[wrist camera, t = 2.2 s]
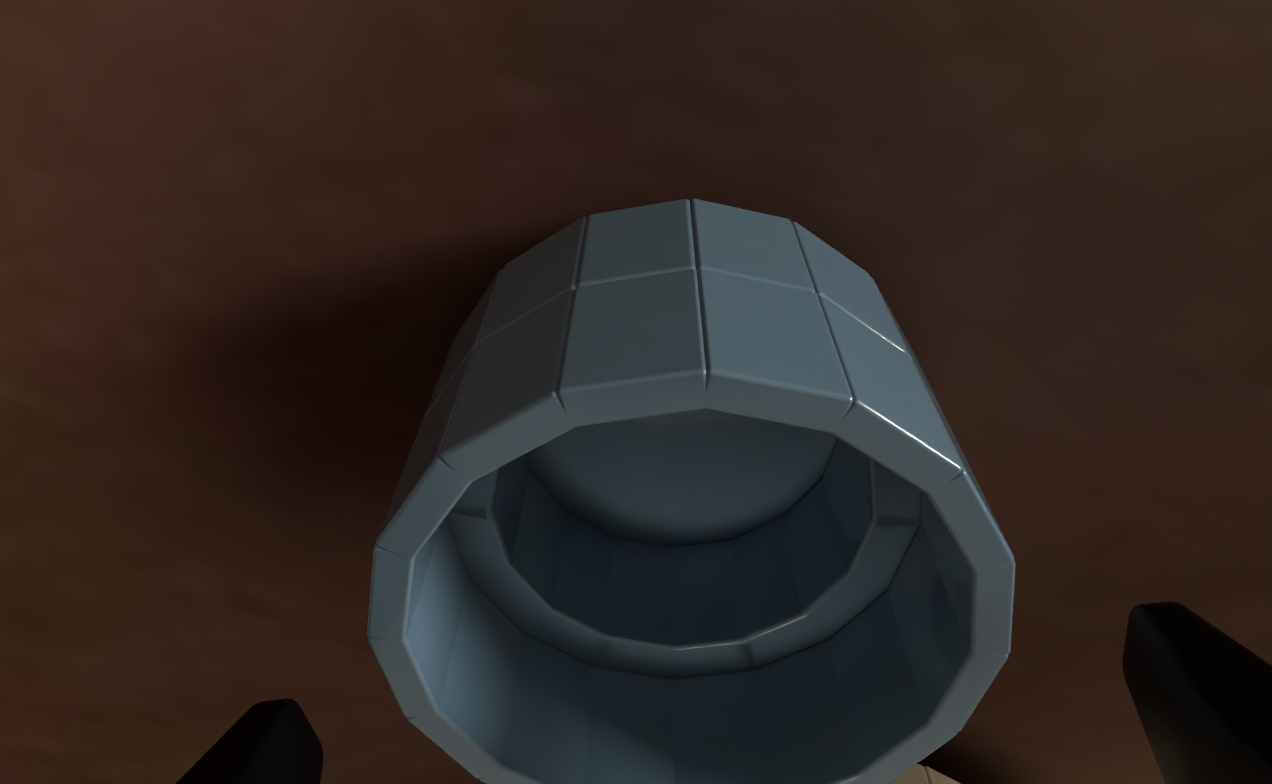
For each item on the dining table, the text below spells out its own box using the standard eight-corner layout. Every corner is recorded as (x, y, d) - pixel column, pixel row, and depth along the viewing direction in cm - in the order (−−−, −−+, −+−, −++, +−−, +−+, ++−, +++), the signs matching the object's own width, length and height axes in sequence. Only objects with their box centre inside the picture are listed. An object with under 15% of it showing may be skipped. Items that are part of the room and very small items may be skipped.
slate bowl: (618, 83, 12) (598, 230, 7) (1002, 357, 14) (1157, 594, 9) (376, 446, 15) (266, 694, 11) (718, 624, 17) (740, 890, 13)
